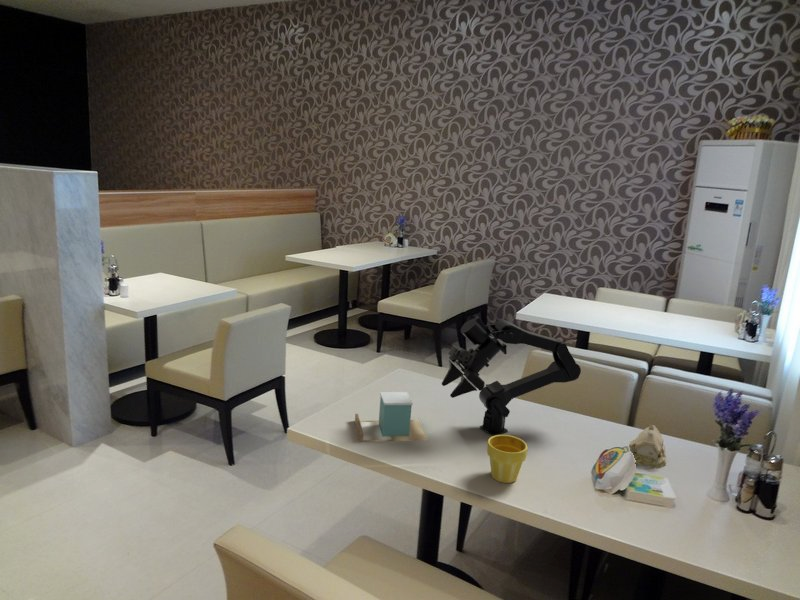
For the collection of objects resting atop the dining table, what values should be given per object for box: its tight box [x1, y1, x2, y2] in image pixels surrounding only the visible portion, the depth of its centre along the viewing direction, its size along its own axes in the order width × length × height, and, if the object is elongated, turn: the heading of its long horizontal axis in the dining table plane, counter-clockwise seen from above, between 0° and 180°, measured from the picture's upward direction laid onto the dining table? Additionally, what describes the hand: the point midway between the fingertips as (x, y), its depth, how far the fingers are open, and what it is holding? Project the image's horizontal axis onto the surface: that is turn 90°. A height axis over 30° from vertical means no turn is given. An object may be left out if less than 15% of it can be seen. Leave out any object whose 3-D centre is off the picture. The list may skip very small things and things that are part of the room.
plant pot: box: [486, 434, 528, 484], centre depth 152 cm, size 10×10×10 cm
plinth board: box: [354, 413, 428, 443], centre depth 174 cm, size 20×14×3 cm
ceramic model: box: [628, 424, 667, 469], centre depth 169 cm, size 14×11×10 cm
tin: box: [378, 391, 414, 436], centre depth 173 cm, size 8×8×11 cm
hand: (446, 390), depth 174 cm, fingers open, 9 cm apart
